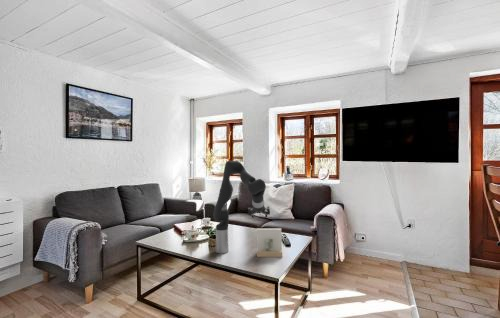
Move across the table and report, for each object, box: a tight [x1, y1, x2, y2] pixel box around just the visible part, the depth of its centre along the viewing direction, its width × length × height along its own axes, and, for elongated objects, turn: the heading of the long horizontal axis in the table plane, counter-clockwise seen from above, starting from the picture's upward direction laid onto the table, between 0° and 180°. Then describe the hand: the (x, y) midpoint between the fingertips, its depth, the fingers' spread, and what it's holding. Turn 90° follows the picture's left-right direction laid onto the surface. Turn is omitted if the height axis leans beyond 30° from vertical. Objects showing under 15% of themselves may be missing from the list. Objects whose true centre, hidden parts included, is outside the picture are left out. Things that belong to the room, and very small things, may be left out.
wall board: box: [256, 228, 283, 258], centre depth 183 cm, size 18×8×18 cm, turn 85°
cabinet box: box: [266, 239, 273, 251], centre depth 183 cm, size 5×3×11 cm, turn 86°
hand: (259, 216), depth 171 cm, fingers open, 8 cm apart
